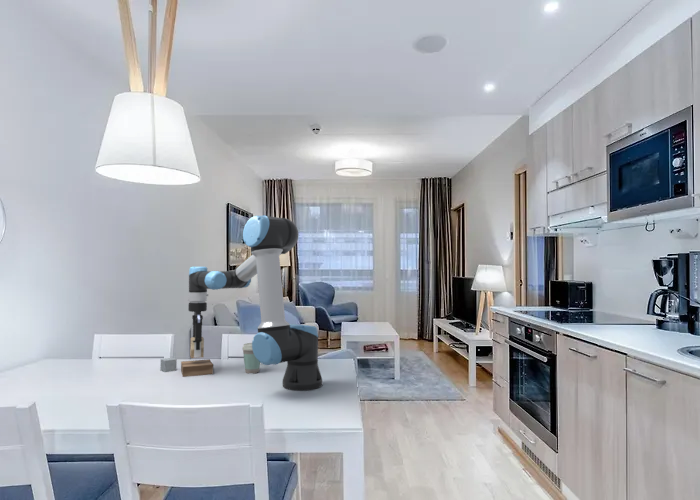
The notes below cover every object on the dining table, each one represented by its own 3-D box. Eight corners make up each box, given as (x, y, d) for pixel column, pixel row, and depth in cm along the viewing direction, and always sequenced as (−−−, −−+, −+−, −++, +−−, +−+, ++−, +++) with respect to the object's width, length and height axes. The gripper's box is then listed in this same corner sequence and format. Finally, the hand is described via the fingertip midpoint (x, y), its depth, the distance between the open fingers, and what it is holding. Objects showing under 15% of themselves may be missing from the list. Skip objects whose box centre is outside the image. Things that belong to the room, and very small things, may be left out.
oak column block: (203, 357, 192) (203, 338, 192) (191, 358, 190) (191, 339, 190) (202, 355, 196) (202, 336, 197) (190, 356, 194) (190, 337, 195)
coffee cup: (264, 370, 197) (264, 342, 198) (258, 374, 189) (259, 346, 189) (245, 369, 198) (246, 342, 199) (239, 374, 190) (239, 345, 190)
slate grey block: (176, 370, 196) (176, 359, 197) (164, 372, 193) (165, 360, 193) (171, 368, 200) (171, 357, 200) (160, 370, 197) (160, 359, 197)
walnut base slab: (212, 374, 190) (213, 364, 190) (182, 376, 185) (182, 367, 185) (209, 368, 201) (209, 359, 201) (181, 370, 196) (181, 361, 196)
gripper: (209, 303, 187) (208, 359, 186) (204, 300, 204) (203, 351, 203) (190, 303, 184) (189, 360, 183) (187, 300, 201) (186, 353, 200)
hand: (196, 356), depth 193 cm, fingers closed on oak column block, 5 cm apart
